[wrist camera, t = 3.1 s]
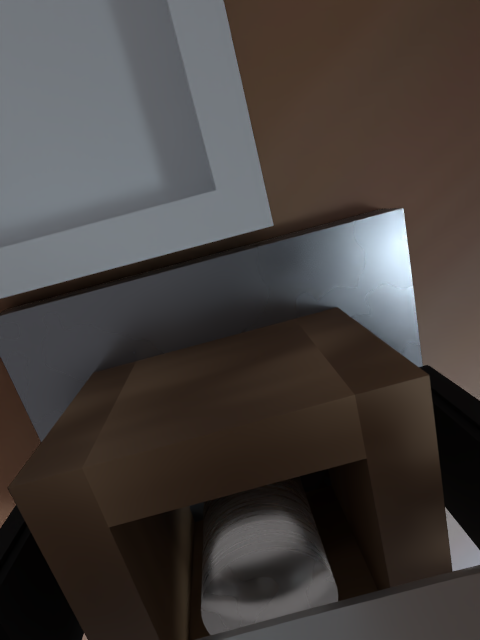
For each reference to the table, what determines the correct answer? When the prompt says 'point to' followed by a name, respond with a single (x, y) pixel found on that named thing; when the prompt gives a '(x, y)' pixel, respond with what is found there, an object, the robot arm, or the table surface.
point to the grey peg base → (211, 324)
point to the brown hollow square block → (235, 469)
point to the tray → (119, 136)
